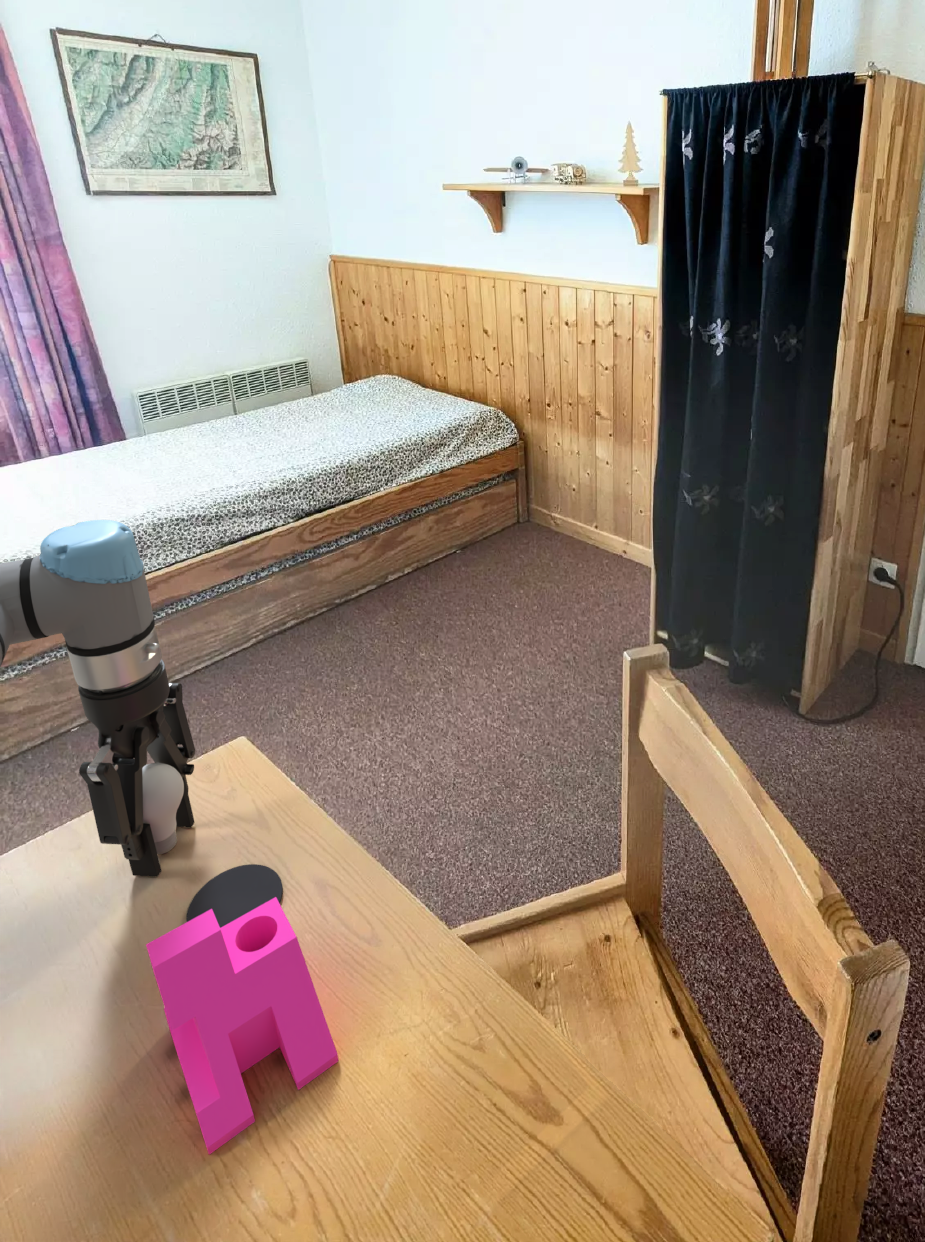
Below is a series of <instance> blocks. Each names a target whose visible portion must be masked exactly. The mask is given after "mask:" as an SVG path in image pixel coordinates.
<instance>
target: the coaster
mask: <svg viewBox="0 0 925 1242" xmlns="http://www.w3.org/2000/svg"><path fill="white" fill-rule="evenodd" d="M283 886H284V885H283V882H282V879H281V877H280V875H279V874H278V872H276V871H275V869H273V868H271V867H269V866H267V865H263V864H255V863H254V864H253V863H249V864H242V865H238V866H234V867H231V868H229V869H227V870H225V871H222V872H220V873H219V874H216V875H215V876H214V877H212V878H211V879H210V880H208V881H207V882H206V883H205V884H203V886H202V887H201V888H199V890H198V891H197V892H196V894H195V895H194V896H193V898H192V899H191V901H190V903H189V905H188V908H187V911H186V917H185V920H186V922H188V921H190V920H192V919H194V918H196V917H197V916H199V915H201V914H203V913H205V912H207V911H208V910H210V909H212V910H213V912H214V915H215V917H216V920H217V922H218V924H219V927H220V928H221V927H223V926H225V925H227V924H228V923H230V922H232V921H234V920H236V919H237V918H239V917H241V916H243V915H244V914H246V913H248V912H250V911H252V910H253V909H255V908H257V907H259V906H261V905H262V904H264V903H266V902H268V901H269V900H271V899H273V898H275V897H276V898H277V900H278V902H279V904H280V905H281V902H282V899H283V893H284V888H283ZM186 922H185V923H186Z"/></svg>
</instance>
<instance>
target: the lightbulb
mask: <svg viewBox="0 0 925 1242" xmlns="http://www.w3.org/2000/svg"><path fill="white" fill-rule="evenodd" d="M142 777H143V823H145V824H150V827H151V831H152V835H153V839H154V843H155V846H156V850H157V854H158V855H162V854H166V853H168V852H170V851H171V850H172V849H174V847H175V846H176V845H177V843H178V842H177V841H178V839H177V838H178V837H177V831H176V829H177V827H176V812H177V809H178V807H179V805H180V802H181V799H182V797H183V793H184V783H183V779H182V777H181V775H180V773H179V772H178V771H177V770H176V769H175V768H174V767H172V766H170V765H167V764H164V763H155V762H152V763H147V764H146V765H145V766H144V767H143V768H142Z"/></svg>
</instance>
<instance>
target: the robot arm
mask: <svg viewBox="0 0 925 1242" xmlns="http://www.w3.org/2000/svg"><path fill="white" fill-rule="evenodd" d="M39 550H40V554H39V555H35V556H33V557H29V558H28V557H27V558H24V559H18V560H12V561H4V562H0V668H1V667H2V664H3V662H4V660H5V658H6V655H7V653H8V650H9V649H10V646H11V645H16V644H20V643H21V644H22V643H26V642H30V641H35V640H41V639H45V638H48V637H50V636H55V635H61V634H62V637H63V639H64V643H65V647H66V650H67V654H68V658H69V662H70V666H71V670H72V674H73V678H74V681H75V683H76V684H77V686H78V687H77V689H78V694H79V698H80V701H81V706H82V709H83V712H84V715H85V717H86V719H87V720H88V721H89V722H90V723H92V724H93V726H95V727H96V729H97V731H98V737H97V747H98V749H99V750H98V752H97V753H96V755H95V756H94V758H93V759H92V761H84V762H82V763H81V764H80V766H79V770H78V773H79V775H80V777H81V778H82V779H83V780H84V782H85V783H86V785H87V790H88V794H89V798H90V802H91V808H92V812H93V816H94V820H95V825H96V830H97V834H98V839H99V842H100V844H102V845H119V846H121V849H122V852H123V856H124V858H125V859H126V860H128V862H129V863H128V864H129V867H130V871H131V874H132V876H135V877H137V876H138V877H151V878H153V877H154V878H158V877H159V875H160V874H161V873H162V871H163V870H162V866H161V863H160V860H159V854H157V850H156V846H155V843H154V839H153V835H152V831H151V827H150V824H145V823H143V777H142V768H143V767H144V766H145V765H147V764H148V755H149V756H150V757H151V759H152V761H153V763H164V764H167V765H170V766H172V767H174V768H175V769H176V770H177V771H178V772H179V773H180V775H181V777H182V779H183V783H184V793H183V797H182V799H181V802H180V805H179V807H178V809H177V812H176V828H188V829H189V828H192V827H193V825H194V824H195V817H194V815H193V814H194V813H193V808H192V805H191V801H190V795H189V784H188V778H187V776H191V775H193V773H194V771H195V765H194V764H193V763H188V760H189V759H191V760H192V759H193V758H194V757H195V755H196V747H195V743H194V740H193V736H192V732H191V728H190V725H189V720H188V717H187V713H186V710H185V706H184V702H183V685H182V683H180V682H169V678H168V674H167V673H168V672H167V669H166V664H165V661H164V660H163V659H162V658H163V654H162V649H161V645H160V641H159V637H158V633H157V629H156V628H157V627H156V625H155V624H156V621H155V617H154V612H153V607H152V603H151V602H152V601H151V598H150V593H149V588H148V587H149V586H148V583H147V577H146V573H145V572H146V571H145V564H144V561H143V560H142V558H141V557H140V553H139V550H138V546H137V543H136V538H135V535H134V533H133V530H131V528H130V527H129V526H128V525H126V524H125V523H122V522H120V521H117V520H112V519H93V520H86V521H85V520H84V521H80V522H77V523H76V524H74V525H70V526H69V525H68V526H62V527H61V528H58V529H56V530H54V531H52V532H50V533H49V534H48V535H47V536H45V537H44V538H43V540H42V541H41V543H40V545H39ZM180 745H181V746H180Z"/></svg>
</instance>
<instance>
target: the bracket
mask: <svg viewBox="0 0 925 1242" xmlns="http://www.w3.org/2000/svg"><path fill="white" fill-rule="evenodd" d="M300 945H301V944H300V942H299V940H298V937H297V934H296V933H295V931H294V928H293V926H292V925H291V923H290V921H289V919H288V917H287V916H286V913H285V912H284V909H283V908H282V905H281V903H280V904H279V902H278V900H277V898H276V897H275V898H273V899H271V900H269V901H268V902H266V903H264V904H262V905H261V906H259V907H257V908H255V909H253V910H252V911H250V912H248V913H246V914H244V915H243V916H241V917H239V918H237V919H236V920H234V921H232V922H230V923H228V924H227V925H225V926H223V927H221V928H220V927H219V924H218V922H217V920H216V917H215V915H214V912H213V910H212V909H210V910H208V911H207V912H205V913H203V914H201V915H199V916H197V917H196V918H194V919H192V920H190V921H188V922H184V923H183V924H181V925H179V926H177V927H175V928H174V929H171V930H170V931H168V932H165V934H162V935H161V936H159V937H157V938H155V939H154V940H151V941H150V942H148V943H146V944H145V947H146V950H147V954H148V958H149V961H150V965H151V967H152V972H153V976H154V978H155V981H156V984H157V988H158V991H159V994H160V997H161V1000H162V1003H163V1011H164V1015H165V1018H166V1023H167V1026H168V1029H169V1033H170V1036H171V1039H172V1043H173V1045H174V1048H175V1052H176V1054H177V1058H178V1061H179V1064H180V1067H181V1071H182V1074H183V1077H184V1080H185V1083H186V1086H187V1090H188V1093H189V1096H190V1099H191V1103H192V1106H193V1109H194V1112H195V1116H196V1118H197V1121H198V1125H199V1128H200V1131H201V1134H202V1137H203V1141H204V1144H205V1147H206V1151H207V1154H208V1155H209V1156H210V1155H211V1154H212V1153H214V1152H215V1151H216V1150H218V1149H219V1148H221V1147H222V1146H224V1145H225V1144H227V1142H229V1141H231V1140H232V1139H233V1138H234V1137H236V1136H237V1135H239V1134H240V1133H242V1132H244V1131H245V1130H246V1129H247V1128H249V1127H250V1126H251V1125H252V1124H254V1123H256V1119H255V1115H254V1112H253V1111H254V1110H253V1108H252V1106H251V1102H250V1099H249V1095H248V1093H247V1089H246V1086H245V1083H244V1080H243V1077H242V1074H243V1073H244V1072H246V1071H247V1070H249V1069H250V1068H252V1067H253V1066H255V1065H256V1064H257V1063H259V1062H261V1060H263V1059H265V1058H266V1057H267V1056H269V1055H270V1054H273V1052H275V1051H276V1050H278V1049H280V1052H281V1053H282V1056H283V1059H284V1061H285V1062H286V1065H287V1067H288V1069H289V1072H290V1074H291V1077H292V1079H293V1081H294V1083H295V1086H296V1088H297V1091H299V1090H301V1089H302V1088H303V1087H305V1086H307V1085H308V1084H309V1083H310V1082H312V1081H313V1080H315V1079H316V1078H317V1077H319V1076H321V1075H322V1074H323V1073H324V1072H326V1071H327V1070H329V1069H330V1068H332V1066H334V1065H336V1064H337V1063H338V1062H339V1054H338V1052H337V1048H336V1046H335V1043H334V1040H333V1037H332V1034H331V1031H330V1028H329V1025H328V1023H327V1020H326V1017H325V1013H324V1011H323V1008H322V1005H321V1003H320V1000H319V996H318V994H317V991H316V988H315V986H314V982H313V980H312V976H311V974H310V971H309V968H308V966H307V963H306V960H305V957H304V953H303V950H302V948H301V946H300Z"/></svg>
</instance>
